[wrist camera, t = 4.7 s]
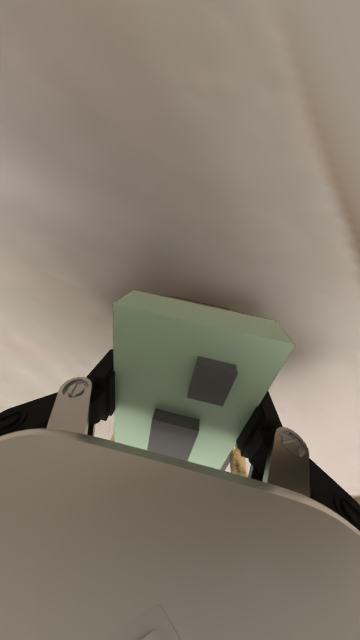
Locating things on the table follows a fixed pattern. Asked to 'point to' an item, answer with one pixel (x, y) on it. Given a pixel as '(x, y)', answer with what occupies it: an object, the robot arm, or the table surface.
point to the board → (189, 375)
